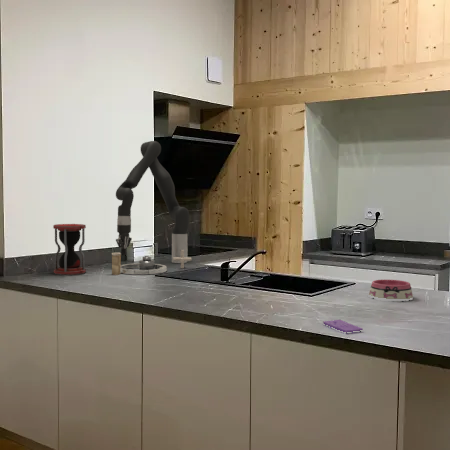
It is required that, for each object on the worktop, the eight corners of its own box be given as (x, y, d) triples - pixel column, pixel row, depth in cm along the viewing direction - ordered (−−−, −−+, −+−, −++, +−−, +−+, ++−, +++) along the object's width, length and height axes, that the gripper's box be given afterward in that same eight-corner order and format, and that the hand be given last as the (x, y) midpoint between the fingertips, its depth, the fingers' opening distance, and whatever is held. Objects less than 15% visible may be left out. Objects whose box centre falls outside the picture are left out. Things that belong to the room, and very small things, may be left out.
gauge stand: (114, 273, 297) (114, 252, 296) (122, 274, 295) (122, 252, 294) (110, 274, 293) (110, 253, 292) (117, 275, 291) (117, 253, 290)
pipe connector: (190, 269, 314) (190, 251, 313) (172, 269, 314) (172, 251, 313) (191, 266, 324) (192, 249, 323) (174, 266, 324) (174, 249, 323)
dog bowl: (367, 300, 236) (367, 284, 235) (368, 292, 253) (369, 277, 253) (414, 303, 231) (415, 287, 230) (412, 295, 249) (412, 279, 248)
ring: (128, 265, 324) (128, 251, 324) (174, 269, 313) (174, 254, 312) (101, 271, 300) (101, 256, 300) (150, 275, 289) (150, 260, 288)
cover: (144, 268, 316) (144, 254, 315) (156, 269, 312) (156, 255, 312) (136, 270, 308) (136, 256, 308) (149, 271, 305) (149, 257, 305)
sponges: (339, 324, 195) (339, 319, 195) (363, 333, 184) (363, 327, 184) (322, 326, 192) (322, 321, 192) (345, 335, 181) (345, 330, 181)
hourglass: (80, 275, 289) (80, 226, 287) (49, 274, 289) (48, 225, 287) (89, 270, 305) (89, 223, 303) (59, 270, 305) (59, 223, 303)
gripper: (124, 223, 324) (124, 253, 325) (111, 224, 312) (111, 255, 313) (136, 223, 321) (135, 254, 322) (123, 224, 309) (122, 256, 310)
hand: (123, 255), depth 318 cm, fingers closed
